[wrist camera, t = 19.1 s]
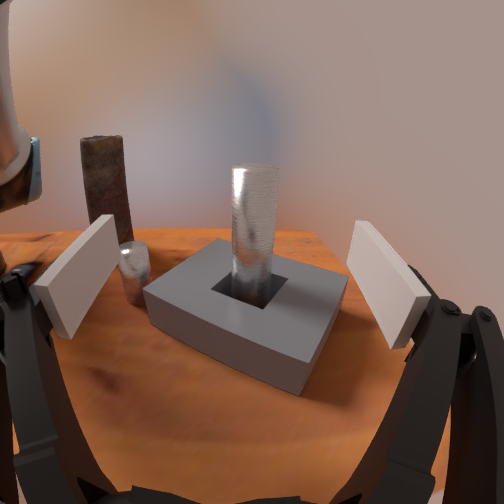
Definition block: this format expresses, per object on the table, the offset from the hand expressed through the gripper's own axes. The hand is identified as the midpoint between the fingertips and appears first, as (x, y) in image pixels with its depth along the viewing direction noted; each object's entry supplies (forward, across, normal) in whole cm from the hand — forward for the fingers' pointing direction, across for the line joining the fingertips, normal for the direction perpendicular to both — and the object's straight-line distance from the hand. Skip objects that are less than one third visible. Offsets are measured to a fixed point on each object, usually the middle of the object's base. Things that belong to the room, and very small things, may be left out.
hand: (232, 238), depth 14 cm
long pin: (+10, +2, -16) cm, 19 cm away
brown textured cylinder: (+26, -22, -16) cm, 38 cm away
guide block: (+10, +2, -16) cm, 19 cm away
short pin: (+14, -12, -16) cm, 25 cm away
